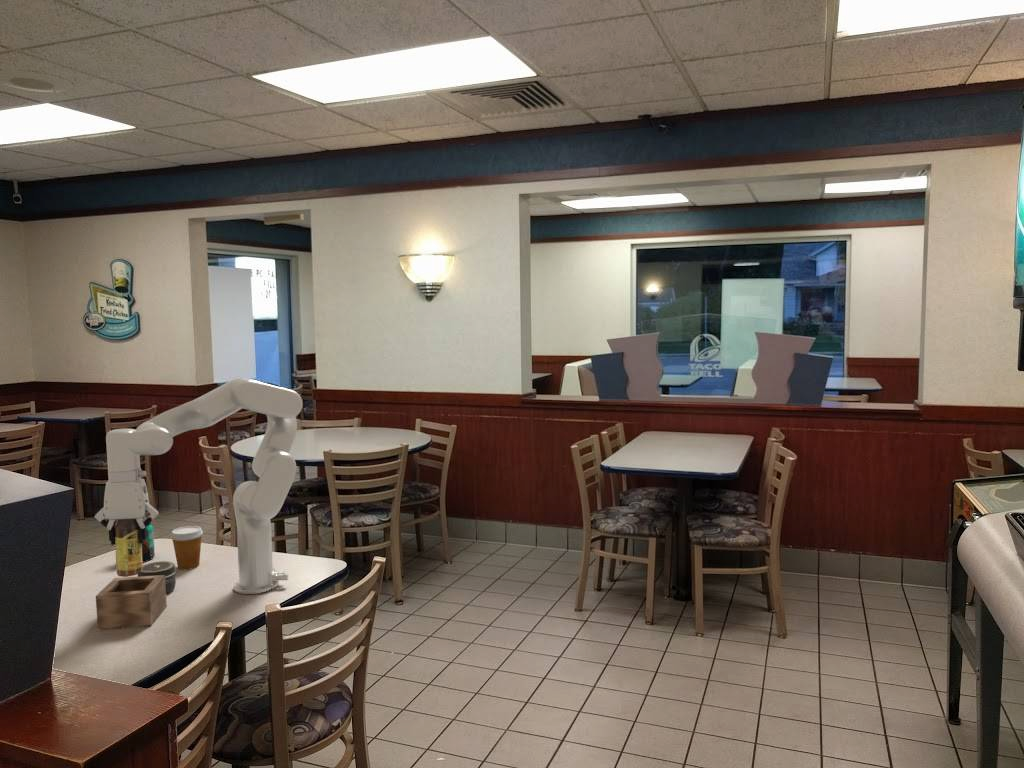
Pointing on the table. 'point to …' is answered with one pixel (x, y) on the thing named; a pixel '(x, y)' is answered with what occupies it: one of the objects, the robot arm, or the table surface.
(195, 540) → the disposable coffee cup
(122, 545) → the sauce bottle
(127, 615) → the walnut box
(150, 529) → the beverage can
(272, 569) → the robot arm
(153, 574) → the jar
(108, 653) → the table surface
